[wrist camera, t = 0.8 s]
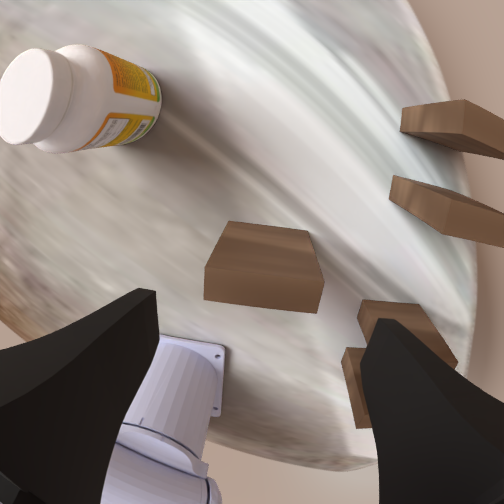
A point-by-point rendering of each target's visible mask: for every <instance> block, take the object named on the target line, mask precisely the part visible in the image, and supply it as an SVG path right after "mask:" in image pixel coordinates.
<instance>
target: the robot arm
mask: <svg viewBox="0 0 504 504" xmlns="http://www.w3.org/2000/svg"><path fill="white" fill-rule="evenodd" d="M217 354H218V355H220V356H217ZM224 361H225V348H224V347H223V346H222V345H218V344H211V343H205V342H199V341H193V340H187V339H182V338H176V337H171V336H166V335H161V334H159V326H158V314H157V302H156V291H154V290H148V289H142V288H137V289H135V290H133V291H131V292H129V293H127V294H125V295H124V296H122V297H120V298H118V299H117V300H115V301H113V302H111V303H109V304H108V305H106V306H104V307H102V308H100V309H99V310H97V311H95V312H93V313H92V314H90V315H88V316H86V317H84V318H82V319H80V320H78V321H76V322H74V323H72V324H70V325H68V326H66V327H64V328H62V329H60V330H58V331H55V332H53V333H51V334H48V335H46V336H43V337H40V338H38V339H35V340H32V341H30V342H26V343H23V344H20V345H17V346H13V347H10V348H7V349H2V350H0V504H222V497H221V493H220V491H219V489H218V486H217V483H216V482H215V481H214V479H212V478H210V477H207V471H208V466H209V464H207V463H204V462H203V461H201V458H202V453H203V448H204V444H205V439H206V435H207V430H208V426H209V421H210V417H211V416H213V417H219V416H220V415H221V405H222V390H223V375H224ZM360 371H361V380H362V388H363V393H364V397H365V401H366V405H367V409H368V413H369V417H370V421H371V425H372V429H373V434H374V438H375V442H376V448H377V455H378V468H379V504H504V403H503V402H501V401H499V400H498V399H496V398H494V397H492V396H491V395H489V394H487V393H486V392H484V391H483V390H481V389H480V388H478V387H477V386H475V385H474V384H473V383H471V382H470V381H468V380H467V379H466V378H464V377H463V376H462V375H460V374H459V373H458V372H457V371H455V370H454V369H453V368H452V367H450V366H449V365H448V364H447V363H446V362H444V361H443V360H442V359H441V358H440V357H439V356H437V355H436V354H435V353H434V352H433V351H432V350H431V349H430V348H428V347H427V346H426V345H425V344H424V343H423V342H422V341H421V340H419V339H418V338H417V337H416V336H415V335H414V334H413V333H411V332H410V331H409V330H408V329H407V328H406V327H404V326H403V325H402V324H401V323H399V322H398V321H397V320H395V319H388V318H378V320H377V323H376V325H375V328H374V330H373V333H372V335H371V338H370V340H369V343H368V345H367V348H366V350H365V352H364V355H363V357H362V359H361V362H360Z"/></svg>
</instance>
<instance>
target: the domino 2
mask: <svg viewBox="0 0 504 504" xmlns="http://www.w3.org/2000/svg"><path fill="white" fill-rule="evenodd" d="M365 350H366V348H350V347H346V350H345V353H344V355H343V358H342V361H341V364H342V368H343V372H344V376H345V380H346V385H347V389H348V393H349V398H350V402H351V407H352V411H353V416H354V421H355V426H356V429H362V428H372V425H371V421H370V417H369V413H368V409H367V405H366V401H365V397H364V393H363V388H362V380H361V371H360V362H361V359H362V357H363V355H364V352H365Z"/></svg>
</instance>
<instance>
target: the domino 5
mask: <svg viewBox="0 0 504 504" xmlns="http://www.w3.org/2000/svg"><path fill="white" fill-rule="evenodd" d="M378 318H388V319H395V320H397V321H398V322H399V323H401V324H402V325H403V326H404V327H406V328H407V329H408V330H409V331H410V332H411V333H413V334H414V335H415V336H416V337H417V338H418V339H419V340H421V341H422V342H423V343H424V344H425V345H426V346H427V347H428V348H430V349H431V350H432V351H433V352H434V353H435V354H436V355H437V356H439V357H440V358H441V359H442V360H443V361H444V362H446V363H447V364H448V365H449V366H450V367H452V368H453V369H455V367H456V366H457V364H458V361H457V359H456V358H455V356H454V354H453V353H452V351H451V350H450V348H449V347H448V345H447V344H446V342H445V341H444V339H443V338H442V336H441V335H440V333H439V332H438V330H437V329H436V327H435V326H434V325H433V323H432V322H431V320H430V319H429V317H428V316H427V315H426V313H425V312H424V310H423V309H422V308H421V306H420V305H419V304H409V303H397V302H385V301H373V300H362V304H361V307H360V310H359V313H358V316H357V319H358V322H359V324H360V327H361V330H362V332H363V335H364V337H365V340H366V343H367V345H368V343H369V340H370V338H371V335H372V333H373V330H374V328H375V325H376V323H377V320H378Z"/></svg>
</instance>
